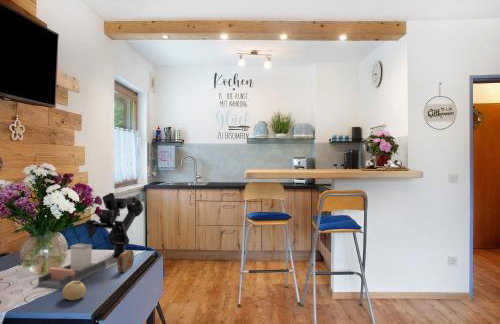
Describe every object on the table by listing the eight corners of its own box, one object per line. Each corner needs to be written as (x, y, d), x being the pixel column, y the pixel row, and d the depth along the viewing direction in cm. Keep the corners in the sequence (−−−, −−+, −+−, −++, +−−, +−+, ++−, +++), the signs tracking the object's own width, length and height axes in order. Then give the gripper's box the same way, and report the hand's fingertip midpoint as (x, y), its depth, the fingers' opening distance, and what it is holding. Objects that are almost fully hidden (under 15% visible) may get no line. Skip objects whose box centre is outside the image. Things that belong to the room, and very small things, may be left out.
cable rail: (84, 265, 172) (84, 254, 172) (105, 267, 169) (106, 256, 169) (38, 285, 145) (38, 272, 145) (62, 288, 142) (62, 275, 142)
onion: (64, 304, 127) (64, 285, 127) (60, 297, 134) (61, 278, 134) (87, 299, 132) (88, 281, 132) (83, 292, 138) (83, 275, 138)
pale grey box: (78, 266, 164) (78, 243, 164) (91, 267, 163) (91, 244, 162) (70, 269, 159) (70, 245, 159) (83, 271, 158) (84, 247, 157)
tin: (122, 274, 160) (123, 256, 160) (115, 274, 160) (116, 256, 160) (134, 264, 175) (134, 247, 175) (128, 264, 175) (128, 247, 175)
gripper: (89, 203, 175) (74, 226, 162) (125, 204, 174) (113, 227, 161) (95, 219, 181) (81, 242, 168) (130, 221, 180) (118, 243, 167)
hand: (98, 238), depth 166 cm, fingers open, 9 cm apart
